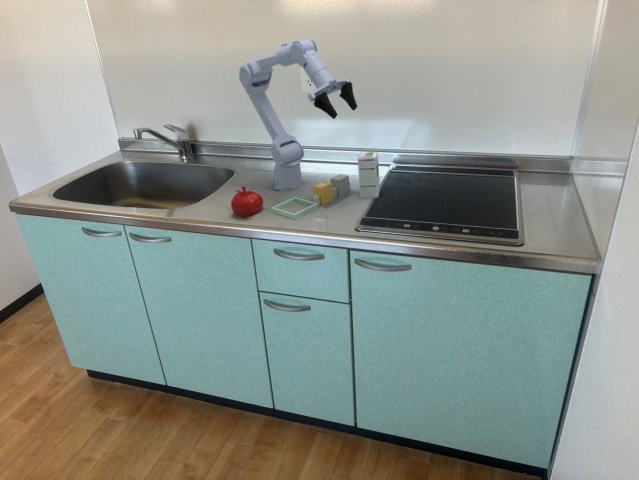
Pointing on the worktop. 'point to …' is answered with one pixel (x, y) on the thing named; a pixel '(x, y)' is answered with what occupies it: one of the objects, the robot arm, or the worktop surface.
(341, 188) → the grey rectangular block
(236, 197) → the pomegranate
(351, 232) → the worktop surface
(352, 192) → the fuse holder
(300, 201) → the tray
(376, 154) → the syrup box
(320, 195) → the block
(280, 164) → the robot arm
